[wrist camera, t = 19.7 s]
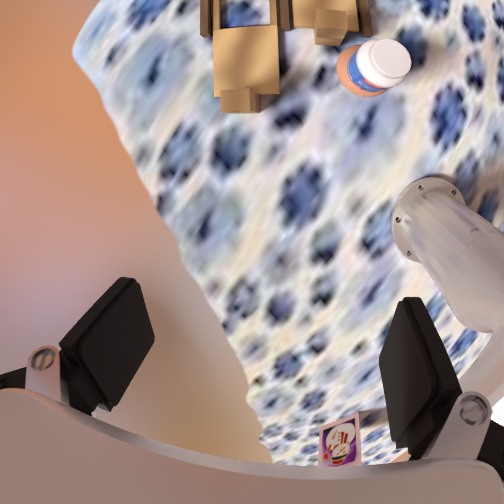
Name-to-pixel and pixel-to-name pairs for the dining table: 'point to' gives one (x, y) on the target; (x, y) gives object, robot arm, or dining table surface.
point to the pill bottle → (378, 65)
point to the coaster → (344, 77)
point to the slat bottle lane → (245, 63)
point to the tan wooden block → (326, 19)
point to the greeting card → (340, 443)
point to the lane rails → (283, 17)
